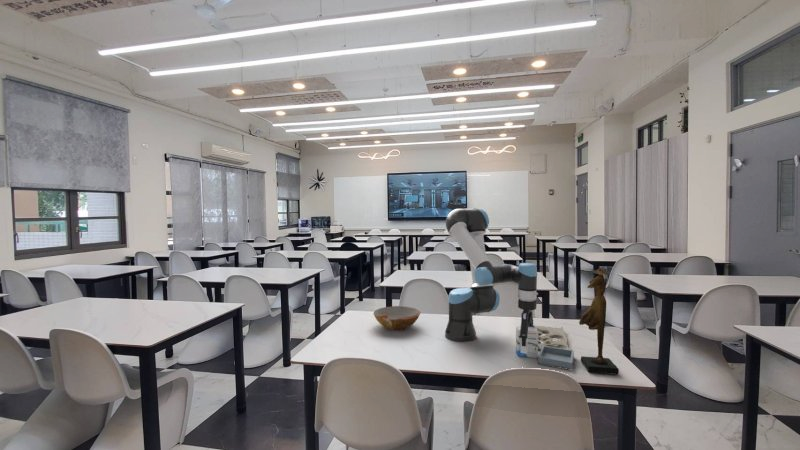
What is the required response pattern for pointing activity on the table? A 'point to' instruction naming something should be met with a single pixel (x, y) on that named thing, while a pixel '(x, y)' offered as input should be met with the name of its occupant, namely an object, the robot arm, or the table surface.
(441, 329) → the table surface
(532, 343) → the ink box
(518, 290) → the robot arm
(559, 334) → the stone relief
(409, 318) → the bowl
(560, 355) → the tray
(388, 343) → the table surface
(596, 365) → the sculpture
